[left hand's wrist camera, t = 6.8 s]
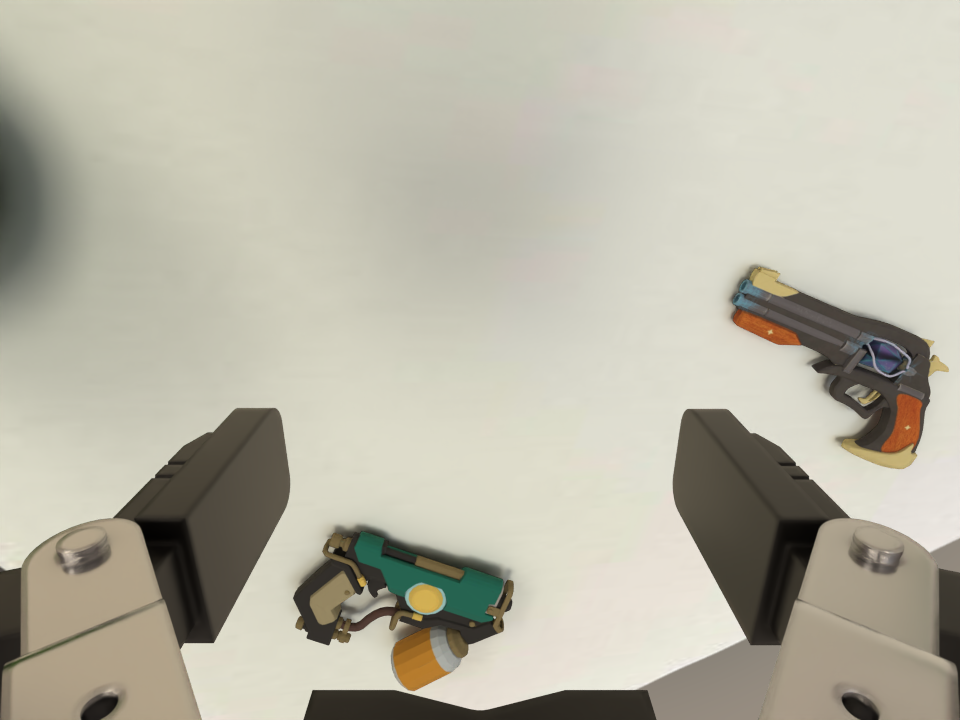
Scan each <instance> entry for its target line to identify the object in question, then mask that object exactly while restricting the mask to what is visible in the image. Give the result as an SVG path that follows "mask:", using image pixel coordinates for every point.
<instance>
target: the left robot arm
mask: <svg viewBox="0 0 960 720" xmlns="http://www.w3.org/2000/svg"><path fill="white" fill-rule="evenodd" d="M289 493H290V474H289V467H288V460H287V453H286V446H285V439H284V432H283V425H282V419H281V415H280V413H279V411H278V410H277V409H276V408H237V409H235V410H234V411H233V412H232V413H231V414H230V415H229V416H228V417H227V418H226V419H225V420H224V421H223V422H222V424H221V425H220V426H219V427H218V428H217V429H216V430H215V431H214V432H213V433H206V434H204V435H202V436H201V437H199V438H197V439H195V440H193V441H192V442H190V443H188V444H186V445H185V446H183V447H182V448H181V449H180V450H179V451H178V452H177V453H176V454H175V455H174V456H173V457H172V458H171V459H170V460H169V461H168V465H165V466H164V467H163V468H162V469H161V470H160V471H159V472H158V473H157V474H156V475H155V478H152V479H151V480H150V481H149V482H148V483H147V484H146V485H145V486H144V487H143V488H142V489H141V490H140V491H139V492H138V493H137V494H136V495H135V496H134V497H133V498H132V499H131V500H130V501H129V502H128V503H127V504H126V505H125V506H124V507H123V508H122V509H121V510H120V511H119V512H118V513H117V514H116V515H115V516H114V517H113V518H108V519H100V520H95V521H90V522H86V523H83V524H80V525H77V526H74V527H71V528H69V529H67V530H64V531H62V532H60V533H58V534H56V535H54V536H52V537H51V538H49V539H47V540H46V541H44V542H43V543H42V544H40V545H39V546H38V547H36V548H35V549H34V550H33V551H32V552H31V553H30V554H29V555H28V557H27V558H26V559H25V561H24V563H23V565H22V568H17V569H12V570H7V571H2V572H0V720H202V719H201V715H200V712H199V709H198V706H197V702H196V699H195V696H194V693H193V690H192V686H191V683H190V680H189V677H188V673H187V670H186V667H185V664H184V661H183V657H182V654H181V651H180V649H181V647H182V646H183V644H184V643H214V642H215V640H216V638H217V636H218V634H219V632H220V630H221V628H222V627H223V625H224V623H225V621H226V619H227V617H228V615H229V613H230V612H231V610H232V608H233V606H234V604H235V602H236V600H237V598H238V597H239V595H240V593H241V591H242V589H243V587H244V585H245V583H246V582H247V580H248V578H249V576H250V574H251V572H252V570H253V568H254V567H255V565H256V563H257V561H258V559H259V557H260V555H261V553H262V552H263V550H264V548H265V546H266V544H267V542H268V540H269V539H270V537H271V535H272V533H273V531H274V529H275V527H276V525H277V524H278V522H279V520H280V518H281V516H282V514H283V512H284V510H285V508H286V506H287V503H288V499H289ZM673 494H674V500H675V504H676V507H677V509H678V512H679V513H680V515H681V517H682V519H683V521H684V523H685V524H686V526H687V528H688V530H689V532H690V534H691V536H692V537H693V539H694V541H695V543H696V545H697V547H698V549H699V550H700V552H701V554H702V556H703V558H704V560H705V561H706V563H707V565H708V567H709V569H710V571H711V573H712V574H713V576H714V578H715V580H716V582H717V584H718V586H719V587H720V589H721V591H722V593H723V595H724V597H725V598H726V600H727V602H728V604H729V606H730V608H731V610H732V611H733V613H734V615H735V617H736V619H737V621H738V623H739V624H740V626H741V628H742V630H743V632H744V634H745V636H746V637H747V639H748V641H749V643H750V645H781V648H780V651H779V654H778V657H777V661H776V664H775V667H774V670H773V673H772V677H771V680H770V683H769V686H768V690H767V693H766V696H765V699H764V703H763V706H762V709H761V712H760V715H759V719H758V720H960V573H958V572H953V571H948V570H943V569H939V568H938V565H937V563H936V561H935V559H934V558H933V557H932V555H931V554H930V553H929V552H928V551H927V550H926V549H925V548H924V547H922V546H921V545H920V544H918V543H917V542H916V541H914V540H913V539H911V538H909V537H908V536H906V535H904V534H902V533H900V532H898V531H896V530H893V529H891V528H889V527H886V526H883V525H880V524H877V523H874V522H870V521H865V520H860V519H852V518H850V517H849V516H848V515H847V514H846V513H845V512H844V511H843V510H842V509H841V508H840V507H839V506H838V505H837V504H836V503H835V502H834V501H833V500H832V499H831V498H830V497H829V496H828V495H827V494H826V493H825V492H824V491H823V490H822V489H821V488H820V487H819V486H818V485H817V484H816V483H815V482H814V481H813V480H809V476H808V475H807V474H806V473H805V472H804V471H803V470H802V469H801V468H800V467H799V466H796V463H795V462H794V461H793V460H792V459H791V458H790V457H789V456H788V455H787V454H786V453H785V452H784V451H783V450H782V448H781V447H779V446H777V445H776V444H774V443H772V442H770V441H768V440H767V439H765V438H763V437H761V436H760V435H758V434H756V433H750V432H749V431H748V430H747V429H746V428H745V427H744V426H743V425H742V424H741V423H740V422H739V421H738V420H737V418H736V417H735V416H734V415H733V414H732V413H731V412H730V411H729V410H727V409H687V410H686V411H685V412H684V414H683V416H682V420H681V426H680V433H679V440H678V447H677V454H676V461H675V468H674V474H673ZM304 720H656V717H655V714H654V710H653V707H652V704H651V700H650V697H649V694H648V691H647V690H564V691H560V692H556V693H552V694H548V695H544V696H540V697H536V698H532V699H528V700H524V701H521V702H517V703H513V704H509V705H505V706H501V707H497V708H493V709H489V710H471V709H467V708H463V707H459V706H455V705H451V704H447V703H443V702H439V701H436V700H432V699H428V698H424V697H420V696H416V695H412V694H408V693H404V692H400V691H396V690H313V691H312V694H311V697H310V700H309V704H308V707H307V710H306V714H305V717H304Z"/></svg>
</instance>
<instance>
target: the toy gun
mask: <svg viewBox="0 0 960 720" xmlns="http://www.w3.org/2000/svg"><path fill="white" fill-rule="evenodd" d="M779 275H780V273H777V271H775V270H771V269H767V268H762V267H758V269H756V268H755V269H754V271H753V272H752V274H751V276H750V280H748V279H746V280H744V281H743V282H742V283H741V285H740V288H739V291H740V292H741V293H737V294H736V295H735V297H734V299H733V304H734V305H735V306H736V307H737V308H738V311H737V312H736V314H735V315H734V318H733V321H734V323H735V324H736V325H737V326H739V327H741V328H743V329H745V330H748V331H750V332H752V333H754V334H756V335H758V336H760V337H762V338H765V339H767V340H769V341H771V342H773V343H775V344H778V345H804V346H806V347H808V348H811V349H813V350H815V351H818V352H819V353H821V354H823V355H825V356H826V357H828V358H829V359H828V360H824V361H821V362H819V363H816V364H814V365H812V367H813V368H814V369H815V370H816V371H817V372H818V373H825V374H832V375H837V377H836V378H835V379H834V381H833V382H832V383H831V385H830V389H829V392H830V395H831V396H832V397H833V398H834V399H835V400H837V401H839V402H842V403H844V404H846V405H847V406H849V407H851V408H852V409H853V410H854V411H856V412H857V413H858V414H859V415H860V416H861V417H862V418H864V419H866V418H868V417H869V416H871V415H872V414H873V413H874V412H876V411H877V410H879V409H881V408H883V411H882V414H881V417H880V420H879V423H878V424H877V426H876V427H875V428H874V429H873V430H871V431H870V432H869V433H868V434H867V435H865V436H864V437H862V438H860V439H844V440H843V442H842V444H841V446H842V447H843V448H844V449H846V450H847V451H848V452H850V453H852V454H854V455H856V456H858V457H861V458H863V459H865V460H867V461H870V462H872V463H875V464H877V465H880V466H884V467H889V468H895V469H904V468H906V467H908V466H910V465H911V464H912V462H913V461H914V460H915V458H916V457H917V454H916V453H915V451H916V449H917V446H918V444H919V441H920V438H921V436H922V431H923V424H924V415H925V410H926V407H927V405H928V404H929V402H930V399H929V396H930V387H929V383H928V377H929V376H930V375H932V374H933V373H934V372H935V371H944V372H949V369H948V367H947V366H946V365H944V364H943V363H942V362H940V360H939V358H938V357H937V356H936V355H933V356H932V358H931V359H930V360H929V357H930V347H931V345H932V344H933V343H934V341H931V340H927V339H922V338H920V337H918V336H916V335H914V334H912V333H909V332H907V331H905V330H902V329H900V328H898V327H895V326H893V325H890V324H888V323H885V322H881V321H877V320H873V319H868V318H863V317H858V316H855V315H852V314H850V313H848V312H845V311H843V310H841V309H838V308H836V307H834V306H831V305H829V304H827V303H824V302H822V301H820V300H817V299H815V298H813V297H810V296H808V295H806V294H804V293H801V292H799V291H797V290H796V289H793V288H791V287H789V286H787V285H785V284H782V283H780V282H778V281H776V280H777V278H778V277H779ZM880 337H881V338H880ZM883 338H885V339H883ZM886 339H888V340H890V341H893V342H895V343H897V344H899V345H901V346H903V347H904V348H905V349H906V350H907V353H905V352H904V351H902V350H901V349H900V348H899V347H897V344H894V343H892V342H889V341H887V340H886ZM899 351H900V352H901V353H902V354H903V355H904V356H903V358H902V357H901V354H900V352H899ZM858 363H861V364H864V365H867V366H870V367H872V368H875V369H876V370H877V371H878V372H879V373H880V374H882V375H884V376H886V377H884V376H882V375H879V374H877V373H874V372H872V371H869V370H867V369H864V368H861V367H858V366H856V365H857V364H858ZM880 370H881V371H883V372H886V373H889V374H888V375H887V374H885V373H883V372H881V371H880ZM857 384H861V385H863V386H866V387H868V388H871V389H873V391H872V392H871V393H870V394H869V395H868V396H867V397H866V398H860V397H858V400H859V401H860V402H861V403H862V404H866V403H869V402H871V401H873V400H875V399H876V398H877V399H876V400H875V401H874V402H872V403H871V404H869V405H867V406H864V407H863V406H861V405H860V404H859V403H857V402H856V401H855V400H854V399H853V398H852V397H850V396H849V395H847V394H845V391H846V390H847V389H848V388H850V387H852V386H854V385H857ZM877 392H878V393H877ZM876 393H877V394H876ZM875 394H876V395H875ZM874 395H875V396H874ZM873 396H874V397H873Z"/></svg>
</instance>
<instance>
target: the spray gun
mask: <svg viewBox="0 0 960 720" xmlns="http://www.w3.org/2000/svg"><path fill="white" fill-rule="evenodd" d="M388 543H389V541H387V540H385V539H384V538H381V537H378V536H376V535H373V534H370V533H367V532H364V531H361V533H357V532H355V533H354V535H353V538H350V537H347V538H346V539H344V538H343V535H340V534H337V533H333V535H332V538H331V539H328V540H327V542H326V544H325V545H324V548H323V551H322V552H323V553H324V555H325V556H326V557H329V558H331V559H330V560H329V561H328V562H327V563H325V564H324V565H323V566H322V567H321V568H320V569H319V570H317V571H316V572H315V573H314V574H313V575H312V576H311V577H310V578H309V579H307V580H306V581H305V582H304V583H303V584H302V585H301V586H300V587H299V588H298V589H297V591H296V592H295V595H294V597H293V599H294V601H295V603H296V605H297V607H298V609H299V612H300V614H301V616H300V617H299V618H298V620H297V623H296V628H297V629H299V630H302V628H303V629H305V631H306V632H308V635H307V639H310V640H313V641H316V642H319V643H322V644H325V645H329V644H330V642H331V639H336V638H337V640H339V642H341V643H344V642H346V643H348V642H349V640H350V637H351V634H350V633H347V632H348V631H360V630H362V629H364V628H365V627H366V626H367V625H368V624H369V623H371V622H372V621H374V620H375V619H377V618H379V617H382V616H387V615H389V616H392V617H391V621H390V626H389V629H390V630H394V629H395V627H396V624H397V621H398V619H400V620H399V621H401V622H404V623H407V624H410V625H413V626H416V627H420V628H423V630H421V631H418V632H416V633H414V634H412V635H410V636H408V637H406V638H404V639H402V640H400V641H398V642H396V643H395V645H394V647H393V650H392V653H391V664H392V670H393V673H394V675H395V678H396V679H397V681H398V682H399V683H400V684H401V685H402V686H403V687H404V688H406V689H407V690H410V691H415V690H417V689H419V688H421V687H423V686H425V685H427V684H429V683H431V682H433V681H435V680H437V679H439V678H441V677H443V676H445V675H447V674H449V673H451V672H452V671H454V670H455V669H456V668H457V667H458V666H459V665H460V662H461V658H463V657H465V656H466V655H467V653H468V644H473V643H476V642H478V641H481V640H483V639H486V638H488V637H490V636H493V635H495V634H498V633H501V632H503V630H504V622H503V619H502V616H503V614H504V612H507V611H509V610H510V609H511V606H512V599H511V597H512V595H513V589H514V584H513V581H511V580H507V582H506V584H505V586H504V582H503V580H502V579H500V578H498V577H495V576H492V575H489V574H486V573H483V572H480V571H477V570H474V569H471V568H468V567H463V568H462V569H458V568H455V567H452V566H449V565H446V564H443V563H440V562H437V561H434V560H431V559H428V558H425V557H422V556H419V555H416V554H413V553H410V552H407V551H404V550H401V549H398V548H395V547H392V546H389V545H388ZM329 546H331V547H334V548H335V550H334V552H333V553H330V552H328V548H329ZM366 581H368V583H367V582H366ZM366 584H367V585H368V589H369V592H370V593H371V595H372V596H373V597H374V598H375V597H377V595H378V593H377V591H378V590H380V589H382V588H386V586H387V587H388V590H389V591H390V592H391V593H394V594H396V596H397V599H398V601H397V603H396V605H395V607H383V608H379V609H377V610H374V611H372V612H371V613H369V614H368V615H366V616H365V617H364V618H363V619H362V620H361V621H359V622H357V623H351V621H352V620H351V619H348V618H347V620H346V621H344V620H343V618H342V617H340V614H341V612H342V610H341V604H340V603H342V602H343V601H345V600H346V599H348V598H349V597H351V596H352V595H354V594H355V593H357V594H359V595H361V593H362V592H363V589H364V586H365V585H366ZM507 592H508V593H507ZM506 594H507V595H506ZM493 616H495V617H496V619H494V618H493ZM340 628H341V629H343V631H339V630H338V629H340Z"/></svg>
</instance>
